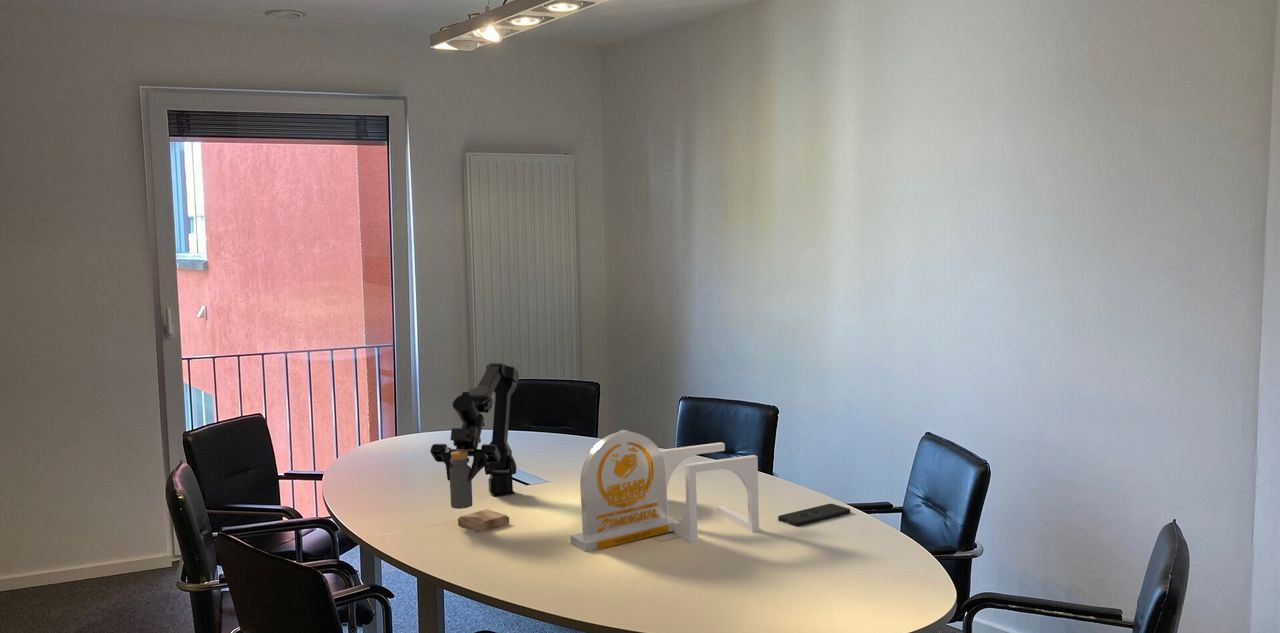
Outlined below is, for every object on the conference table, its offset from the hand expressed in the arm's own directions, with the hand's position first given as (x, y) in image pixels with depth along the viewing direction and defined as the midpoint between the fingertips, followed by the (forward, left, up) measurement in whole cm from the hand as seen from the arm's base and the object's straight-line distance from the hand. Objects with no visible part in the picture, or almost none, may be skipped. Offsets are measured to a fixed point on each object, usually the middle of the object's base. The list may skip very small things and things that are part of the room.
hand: (459, 480), depth 272 cm
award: (-36, +31, -13) cm, 49 cm away
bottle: (-1, -1, -8) cm, 8 cm away
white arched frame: (-59, +33, -13) cm, 69 cm away
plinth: (-6, +1, -13) cm, 14 cm away
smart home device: (-88, +40, -14) cm, 98 cm away
